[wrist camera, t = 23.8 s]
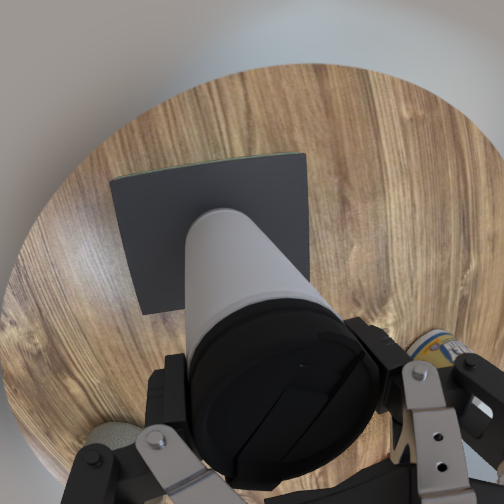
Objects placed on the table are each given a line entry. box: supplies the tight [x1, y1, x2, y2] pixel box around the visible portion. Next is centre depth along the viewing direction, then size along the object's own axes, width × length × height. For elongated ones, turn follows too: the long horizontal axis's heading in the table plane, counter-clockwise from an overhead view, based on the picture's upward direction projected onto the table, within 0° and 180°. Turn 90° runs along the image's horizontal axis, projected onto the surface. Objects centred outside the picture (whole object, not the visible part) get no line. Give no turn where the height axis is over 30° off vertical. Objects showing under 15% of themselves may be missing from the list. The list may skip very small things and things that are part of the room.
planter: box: [84, 422, 166, 504], centre depth 34 cm, size 12×12×11 cm
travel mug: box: [185, 208, 380, 491], centre depth 17 cm, size 6×7×20 cm
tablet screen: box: [110, 153, 310, 315], centre depth 30 cm, size 14×18×1 cm
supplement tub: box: [406, 329, 493, 441], centre depth 38 cm, size 12×12×17 cm
